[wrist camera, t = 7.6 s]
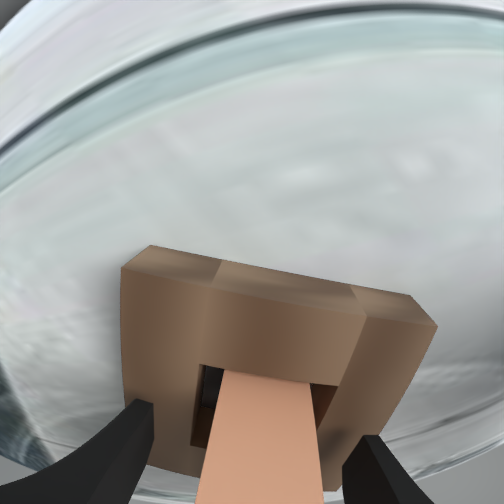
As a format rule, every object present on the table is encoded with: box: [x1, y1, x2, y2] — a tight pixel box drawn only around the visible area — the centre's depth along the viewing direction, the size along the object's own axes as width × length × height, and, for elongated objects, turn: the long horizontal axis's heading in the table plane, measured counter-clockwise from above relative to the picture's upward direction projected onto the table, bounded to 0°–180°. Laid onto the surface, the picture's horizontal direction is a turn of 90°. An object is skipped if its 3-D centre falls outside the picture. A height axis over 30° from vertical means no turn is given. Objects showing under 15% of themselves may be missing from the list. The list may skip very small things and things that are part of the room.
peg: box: [195, 369, 324, 504], centre depth 9 cm, size 3×3×8 cm
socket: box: [120, 245, 438, 491], centre depth 11 cm, size 10×10×2 cm
